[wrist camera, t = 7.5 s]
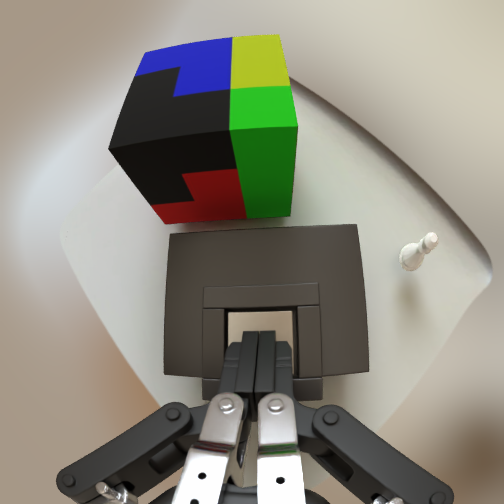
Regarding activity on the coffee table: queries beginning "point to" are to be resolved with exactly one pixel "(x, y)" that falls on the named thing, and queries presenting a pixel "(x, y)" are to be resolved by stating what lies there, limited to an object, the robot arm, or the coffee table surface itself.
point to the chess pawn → (417, 252)
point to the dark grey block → (267, 299)
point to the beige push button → (261, 325)
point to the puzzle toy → (211, 130)
